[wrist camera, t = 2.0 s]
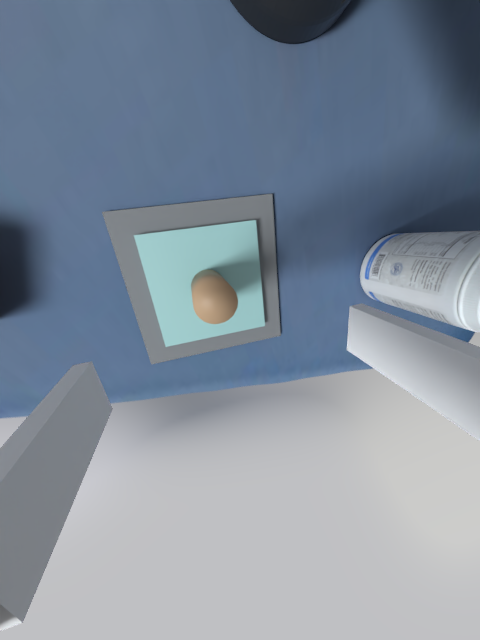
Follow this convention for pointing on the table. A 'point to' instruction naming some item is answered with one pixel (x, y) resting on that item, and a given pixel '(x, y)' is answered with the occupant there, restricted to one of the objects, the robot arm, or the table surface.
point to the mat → (184, 217)
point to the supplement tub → (427, 275)
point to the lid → (204, 280)
